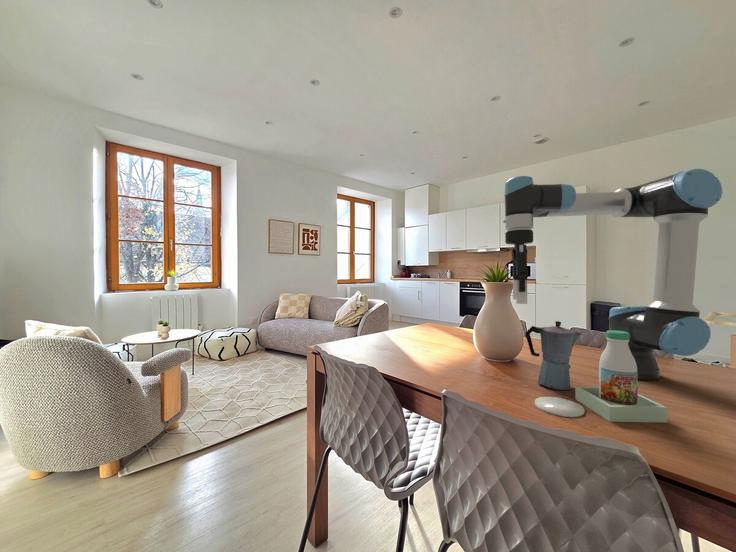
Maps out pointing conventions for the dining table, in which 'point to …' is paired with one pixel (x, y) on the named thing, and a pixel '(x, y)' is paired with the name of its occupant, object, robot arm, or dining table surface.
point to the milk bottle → (618, 371)
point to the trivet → (559, 406)
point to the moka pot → (554, 354)
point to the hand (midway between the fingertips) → (519, 301)
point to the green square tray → (621, 407)
